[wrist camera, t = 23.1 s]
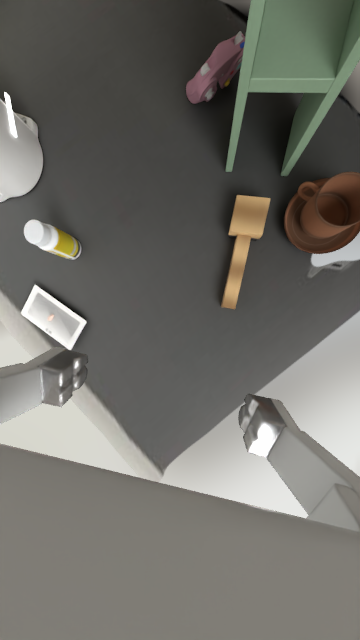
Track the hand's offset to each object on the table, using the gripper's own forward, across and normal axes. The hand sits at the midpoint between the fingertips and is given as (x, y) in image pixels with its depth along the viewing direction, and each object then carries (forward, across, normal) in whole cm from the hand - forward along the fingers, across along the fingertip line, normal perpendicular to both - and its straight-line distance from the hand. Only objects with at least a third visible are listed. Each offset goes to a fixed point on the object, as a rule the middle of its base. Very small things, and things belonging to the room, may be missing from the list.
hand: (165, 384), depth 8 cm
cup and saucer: (+28, -19, -18) cm, 39 cm away
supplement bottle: (+31, +27, -4) cm, 41 cm away
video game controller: (+35, +4, -37) cm, 51 cm away
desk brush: (+28, -8, -9) cm, 30 cm away
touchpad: (+28, +28, +12) cm, 41 cm away
